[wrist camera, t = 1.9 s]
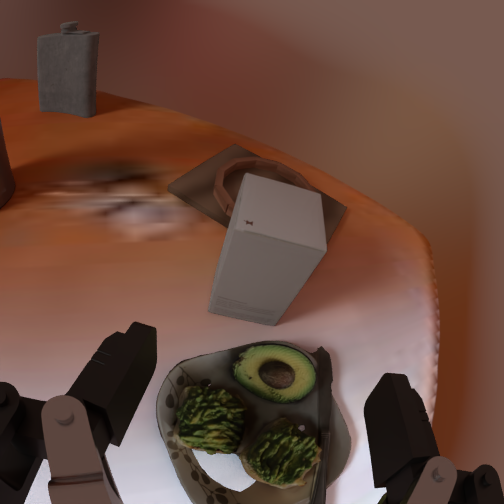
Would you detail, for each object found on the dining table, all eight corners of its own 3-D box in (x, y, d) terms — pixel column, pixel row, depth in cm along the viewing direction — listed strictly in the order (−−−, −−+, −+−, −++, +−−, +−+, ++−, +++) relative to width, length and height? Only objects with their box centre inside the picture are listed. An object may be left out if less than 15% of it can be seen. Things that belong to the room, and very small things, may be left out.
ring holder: (167, 190, 40) (169, 176, 38) (233, 148, 51) (236, 136, 49) (306, 278, 36) (315, 266, 34) (344, 211, 47) (351, 200, 45)
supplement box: (275, 328, 31) (329, 254, 21) (206, 312, 30) (230, 227, 21) (279, 273, 36) (323, 192, 26) (218, 257, 35) (244, 169, 25)
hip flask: (37, 111, 47) (35, 27, 32) (48, 103, 49) (48, 23, 34) (90, 118, 48) (93, 22, 33) (101, 110, 50) (107, 19, 36)
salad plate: (375, 483, 22) (403, 481, 18) (210, 556, 14) (218, 573, 11) (308, 332, 32) (327, 312, 29) (143, 369, 25) (139, 353, 21)
